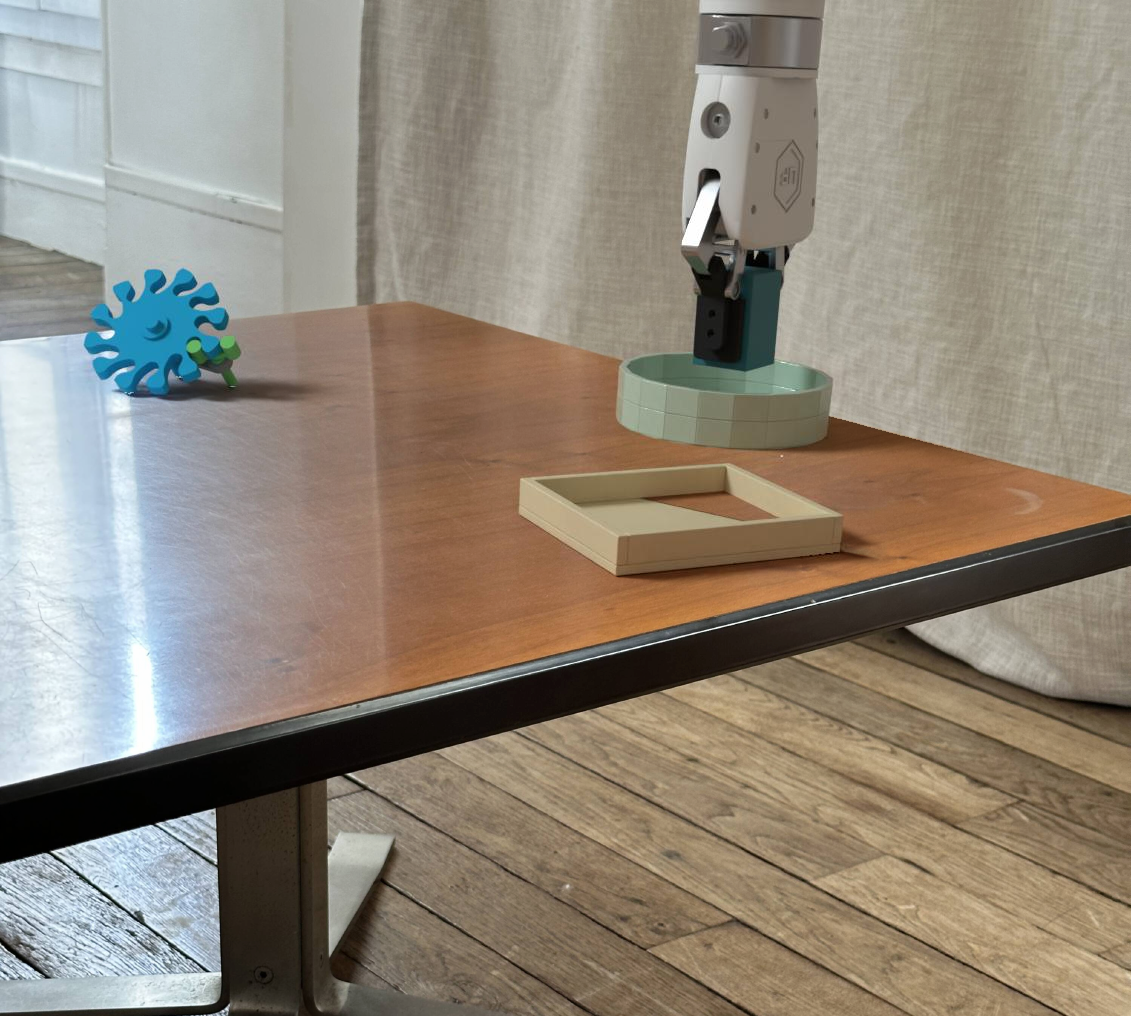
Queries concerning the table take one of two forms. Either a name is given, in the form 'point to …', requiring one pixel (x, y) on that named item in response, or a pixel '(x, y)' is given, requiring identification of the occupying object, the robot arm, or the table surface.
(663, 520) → the tray
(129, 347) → the gear
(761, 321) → the block
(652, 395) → the bowl
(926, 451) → the table surface
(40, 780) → the table surface
